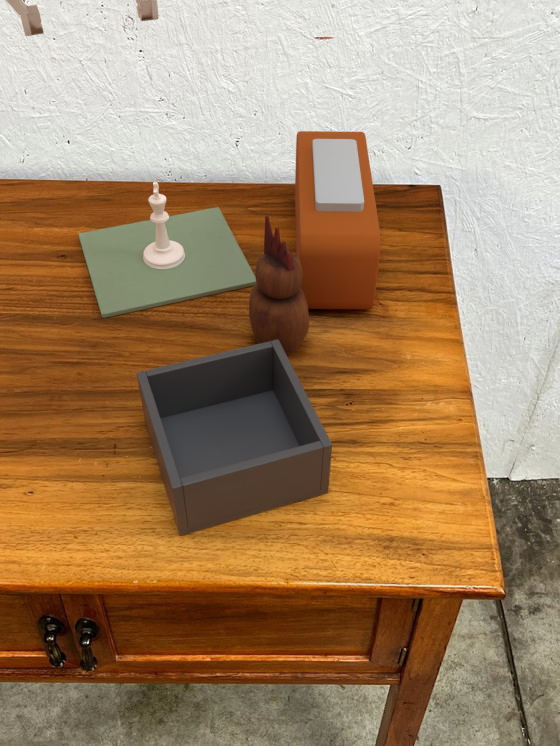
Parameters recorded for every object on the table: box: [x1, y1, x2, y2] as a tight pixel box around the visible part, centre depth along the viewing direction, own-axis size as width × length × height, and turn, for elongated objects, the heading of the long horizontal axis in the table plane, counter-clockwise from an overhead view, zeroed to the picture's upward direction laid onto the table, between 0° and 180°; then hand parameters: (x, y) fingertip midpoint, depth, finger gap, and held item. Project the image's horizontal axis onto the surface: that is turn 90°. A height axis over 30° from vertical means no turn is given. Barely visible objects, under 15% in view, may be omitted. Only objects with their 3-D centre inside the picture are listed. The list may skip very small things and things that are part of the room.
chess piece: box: [143, 181, 185, 269], centre depth 89 cm, size 5×5×10 cm
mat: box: [77, 206, 256, 319], centre depth 92 cm, size 18×16×1 cm
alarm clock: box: [294, 130, 382, 310], centre depth 90 cm, size 24×8×11 cm, turn 0°
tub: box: [136, 339, 333, 537], centre depth 70 cm, size 14×14×7 cm
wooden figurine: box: [248, 215, 310, 356], centre depth 77 cm, size 7×6×15 cm
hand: (92, 25), depth 64 cm, fingers open, 8 cm apart
